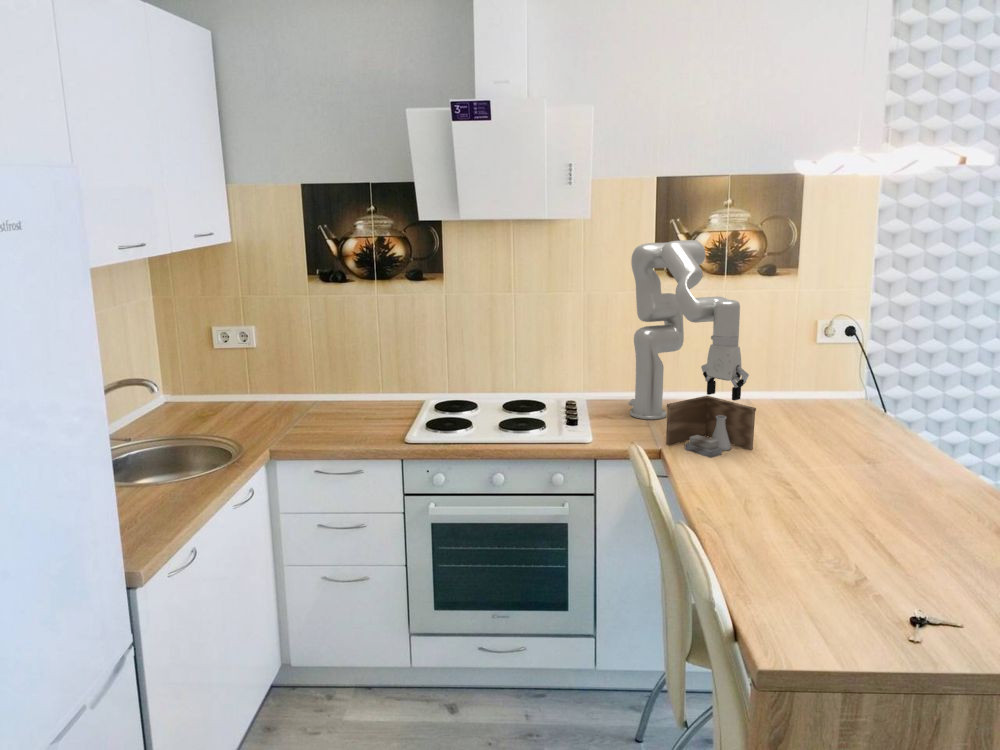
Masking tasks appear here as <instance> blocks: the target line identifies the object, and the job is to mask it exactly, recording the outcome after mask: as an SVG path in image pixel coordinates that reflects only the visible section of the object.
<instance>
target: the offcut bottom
mask: <svg viewBox="0 0 1000 750" xmlns="http://www.w3.org/2000/svg"><path fill="white" fill-rule="evenodd" d="M684 446H685V447H684V450H685V451H687V452H692V453H694V454H697V455H701V456H703V457H707V458H710V459H711V458H714V457H718V456H721V455H723V453H722V452H723V450H722V448H717V449H714V450H707V449H704V448H700V447H697V446H693V445H689V442H687V443H684Z"/></svg>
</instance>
